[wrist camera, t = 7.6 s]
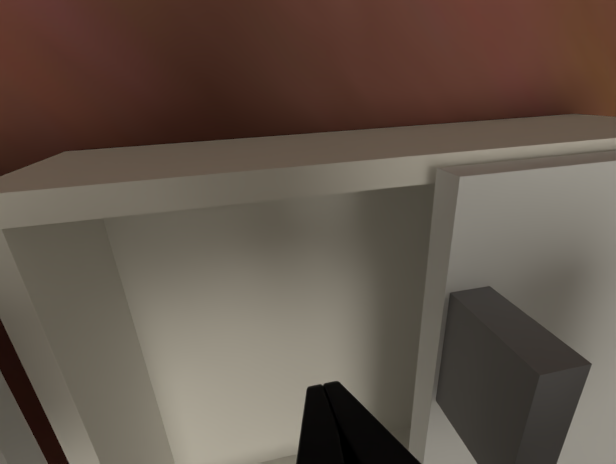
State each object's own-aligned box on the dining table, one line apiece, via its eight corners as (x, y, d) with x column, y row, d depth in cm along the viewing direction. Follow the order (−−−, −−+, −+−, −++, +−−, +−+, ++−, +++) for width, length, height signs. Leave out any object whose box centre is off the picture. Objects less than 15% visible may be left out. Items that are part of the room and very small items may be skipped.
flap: (594, 499, 18) (685, 602, 14) (397, 559, 16) (445, 694, 13) (756, 136, 11) (1017, 161, 7) (436, 168, 9) (575, 221, 5)
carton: (504, 404, 24) (585, 497, 18) (169, 483, 20) (147, 628, 15) (574, 113, 16) (744, 126, 11) (65, 151, 13) (-57, 198, 7)
